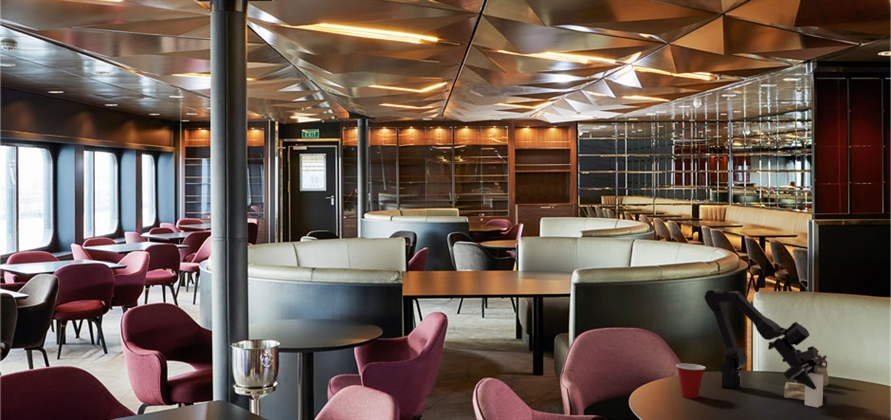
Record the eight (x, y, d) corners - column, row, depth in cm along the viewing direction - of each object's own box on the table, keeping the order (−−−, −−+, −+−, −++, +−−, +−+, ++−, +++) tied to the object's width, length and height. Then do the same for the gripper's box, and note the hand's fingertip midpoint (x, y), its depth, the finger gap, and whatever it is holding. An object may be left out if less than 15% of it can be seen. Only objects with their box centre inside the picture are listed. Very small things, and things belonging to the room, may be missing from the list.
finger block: (804, 404, 279) (805, 375, 279) (809, 402, 283) (810, 372, 282) (817, 407, 276) (818, 377, 275) (822, 404, 279) (823, 375, 279)
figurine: (810, 380, 313) (811, 351, 312) (830, 383, 309) (830, 354, 308) (807, 384, 307) (808, 354, 307) (826, 387, 303) (827, 357, 303)
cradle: (784, 397, 289) (784, 368, 289) (787, 383, 309) (788, 356, 308) (814, 401, 284) (815, 371, 284) (816, 386, 304) (817, 359, 304)
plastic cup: (706, 394, 292) (707, 363, 292) (703, 402, 282) (704, 369, 282) (677, 390, 297) (677, 360, 296) (673, 398, 287) (673, 366, 286)
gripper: (793, 343, 275) (824, 380, 267) (814, 336, 287) (844, 371, 280) (771, 361, 281) (801, 397, 273) (792, 353, 294) (821, 387, 286)
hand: (818, 387), depth 278 cm, fingers closed on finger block, 5 cm apart
